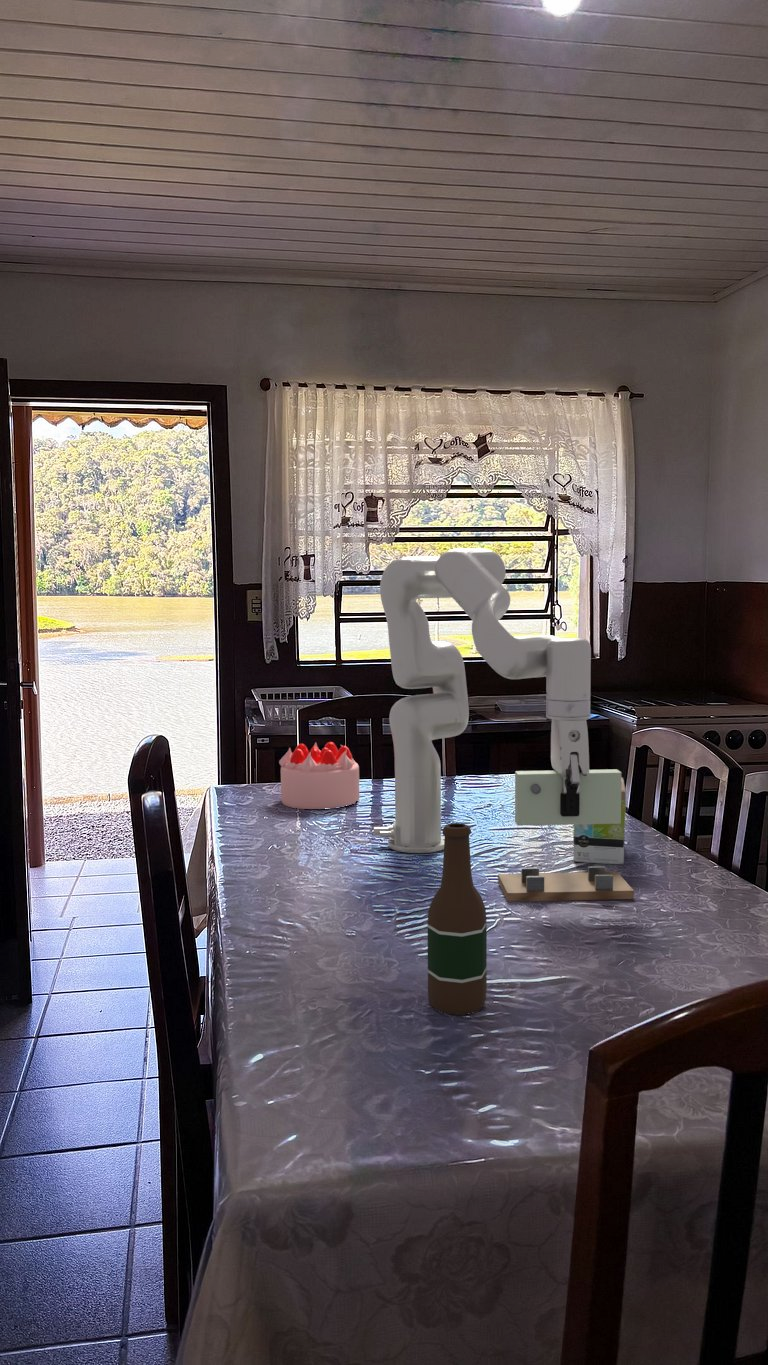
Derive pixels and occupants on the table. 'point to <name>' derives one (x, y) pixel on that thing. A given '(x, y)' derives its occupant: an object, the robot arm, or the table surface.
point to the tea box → (601, 839)
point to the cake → (319, 777)
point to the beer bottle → (457, 932)
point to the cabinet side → (564, 888)
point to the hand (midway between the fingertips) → (567, 812)
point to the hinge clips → (594, 874)
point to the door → (544, 789)
